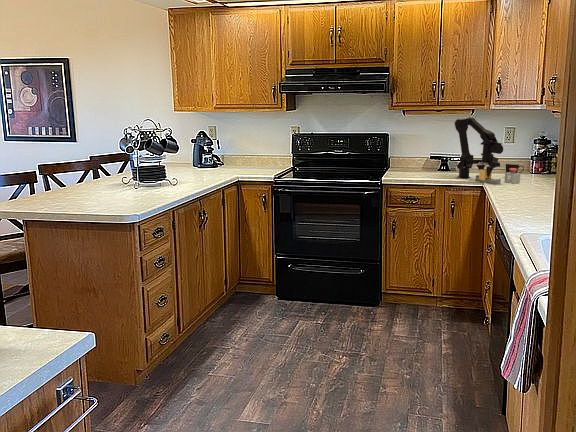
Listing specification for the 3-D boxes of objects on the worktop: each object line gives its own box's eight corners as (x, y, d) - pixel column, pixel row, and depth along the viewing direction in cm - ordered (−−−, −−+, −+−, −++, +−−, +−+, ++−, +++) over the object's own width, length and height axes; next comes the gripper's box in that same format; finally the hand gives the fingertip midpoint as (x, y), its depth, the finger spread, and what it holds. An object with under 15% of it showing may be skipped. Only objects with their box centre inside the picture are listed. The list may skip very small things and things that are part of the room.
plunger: (507, 177, 381) (508, 168, 380) (512, 177, 383) (513, 168, 382) (512, 178, 377) (513, 169, 376) (517, 178, 379) (518, 168, 378)
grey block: (504, 182, 382) (504, 172, 381) (511, 181, 385) (512, 172, 384) (512, 183, 376) (513, 174, 375) (519, 183, 379) (520, 173, 378)
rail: (475, 180, 388) (475, 175, 388) (478, 179, 390) (479, 175, 389) (496, 184, 372) (497, 179, 371) (500, 184, 373) (500, 179, 372)
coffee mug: (503, 178, 396) (504, 163, 394) (505, 177, 404) (506, 162, 401) (521, 180, 391) (523, 165, 389) (523, 178, 398) (524, 163, 396)
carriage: (478, 179, 384) (479, 169, 382) (485, 178, 386) (486, 168, 385) (484, 180, 379) (485, 170, 378) (491, 179, 382) (491, 169, 380)
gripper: (507, 153, 374) (505, 177, 378) (485, 150, 390) (483, 173, 394) (494, 154, 369) (492, 178, 373) (473, 150, 386) (471, 174, 389)
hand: (485, 176), depth 382 cm, fingers closed on carriage, 5 cm apart
